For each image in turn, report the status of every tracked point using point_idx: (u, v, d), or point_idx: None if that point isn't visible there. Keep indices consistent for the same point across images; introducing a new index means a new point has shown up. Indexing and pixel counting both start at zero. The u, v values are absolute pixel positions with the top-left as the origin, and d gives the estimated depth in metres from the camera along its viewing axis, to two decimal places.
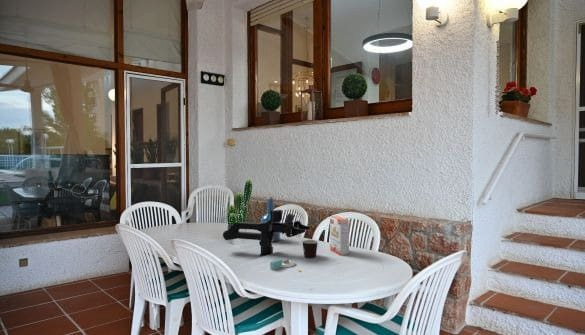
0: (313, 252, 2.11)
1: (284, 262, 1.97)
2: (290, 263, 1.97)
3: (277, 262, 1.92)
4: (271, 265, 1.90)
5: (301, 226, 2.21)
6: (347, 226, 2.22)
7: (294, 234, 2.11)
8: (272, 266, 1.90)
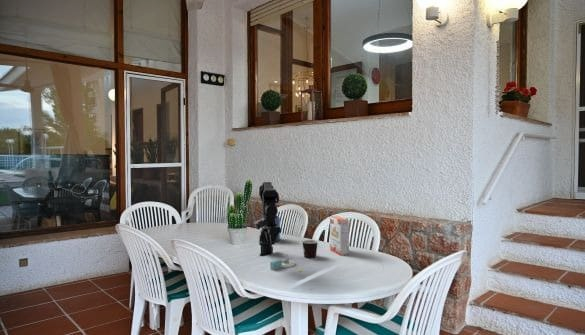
0: (313, 252, 2.11)
1: (284, 262, 1.97)
2: (290, 263, 1.97)
3: (277, 262, 1.92)
4: (271, 265, 1.90)
5: None
6: (347, 226, 2.22)
7: None
8: (272, 266, 1.90)
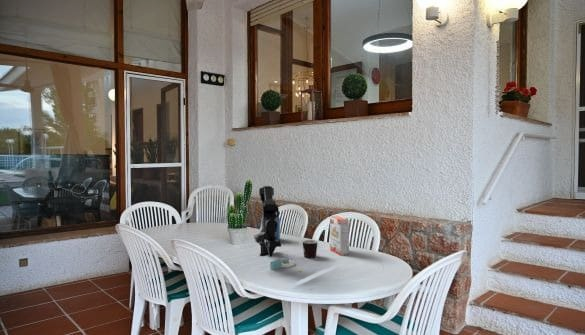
0: (313, 252, 2.11)
1: (284, 262, 1.97)
2: (290, 263, 1.97)
3: (277, 262, 1.92)
4: (271, 265, 1.90)
5: None
6: (347, 226, 2.22)
7: None
8: (272, 266, 1.90)
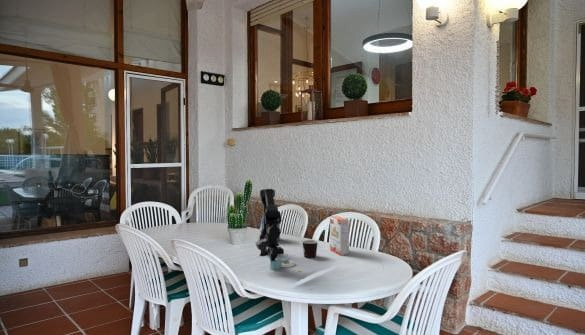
0: (313, 252, 2.11)
1: (284, 262, 1.97)
2: (290, 263, 1.97)
3: (277, 262, 1.92)
4: (271, 265, 1.90)
5: None
6: (347, 226, 2.22)
7: None
8: (272, 266, 1.90)
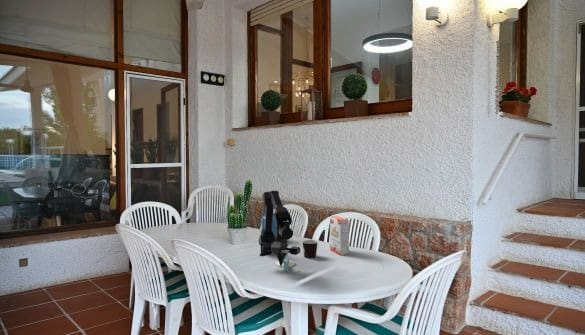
0: (313, 252, 2.11)
1: None
2: (291, 262, 1.99)
3: (287, 263, 1.91)
4: (285, 266, 1.88)
5: None
6: (347, 226, 2.22)
7: None
8: (287, 267, 1.88)
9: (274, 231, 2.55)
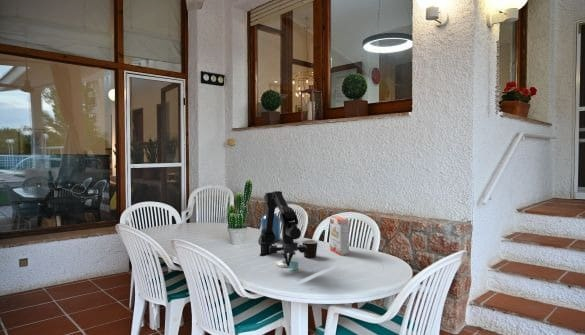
0: (313, 252, 2.11)
1: None
2: None
3: None
4: (296, 265, 1.89)
5: (289, 256, 1.90)
6: (347, 226, 2.22)
7: None
8: (297, 266, 1.90)
9: (274, 231, 2.55)
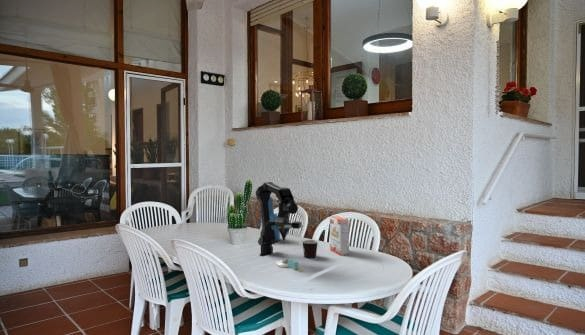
0: (313, 252, 2.11)
1: (288, 262, 1.98)
2: None
3: None
4: (296, 265, 1.89)
5: None
6: (347, 226, 2.22)
7: None
8: (297, 266, 1.90)
9: None
